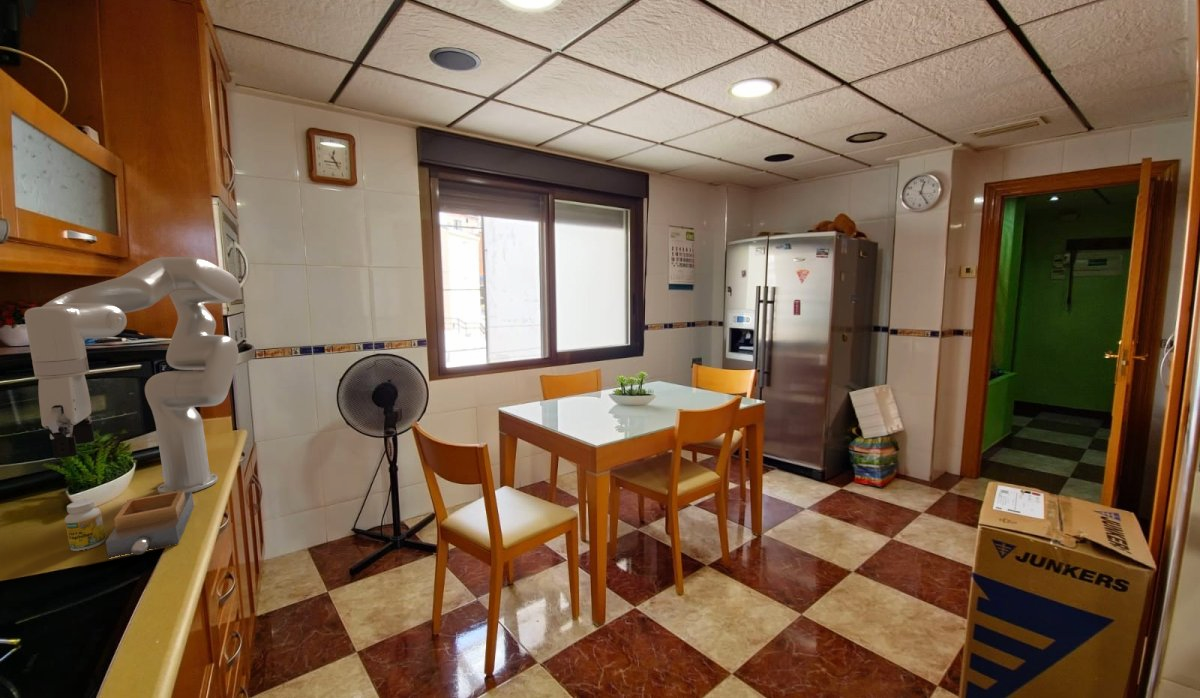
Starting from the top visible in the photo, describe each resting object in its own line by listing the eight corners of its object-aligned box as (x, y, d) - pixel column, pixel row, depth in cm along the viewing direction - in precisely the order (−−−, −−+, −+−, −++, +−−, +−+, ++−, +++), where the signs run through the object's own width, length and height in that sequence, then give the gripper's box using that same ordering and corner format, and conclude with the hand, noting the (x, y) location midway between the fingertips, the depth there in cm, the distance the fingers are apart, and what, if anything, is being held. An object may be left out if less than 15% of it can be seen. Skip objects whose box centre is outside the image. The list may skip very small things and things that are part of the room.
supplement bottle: (110, 536, 111) (103, 495, 109) (99, 548, 106) (91, 505, 104) (78, 541, 108) (70, 500, 107) (64, 554, 104) (56, 511, 102)
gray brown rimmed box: (134, 518, 118) (130, 492, 117) (193, 506, 124) (190, 481, 123) (104, 567, 99) (98, 537, 98) (175, 551, 105) (171, 522, 103)
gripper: (53, 363, 106) (67, 440, 109) (13, 377, 92) (30, 466, 94) (101, 360, 110) (113, 435, 113) (71, 373, 95) (85, 459, 98)
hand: (75, 449), depth 103 cm, fingers open, 9 cm apart
